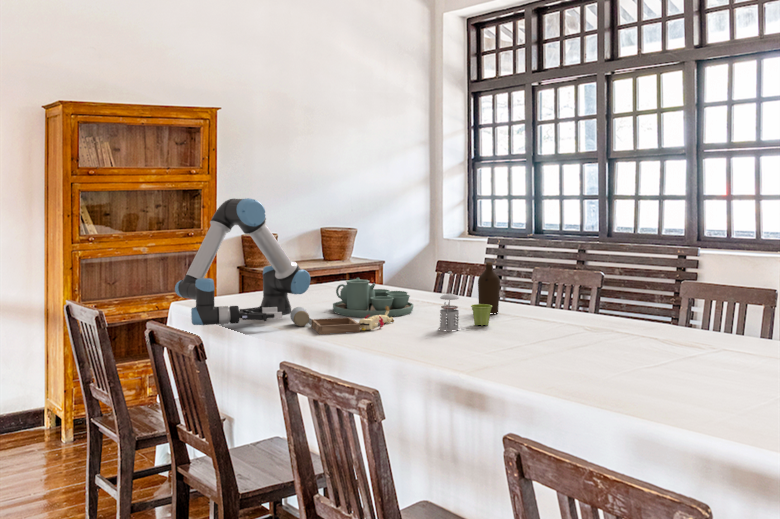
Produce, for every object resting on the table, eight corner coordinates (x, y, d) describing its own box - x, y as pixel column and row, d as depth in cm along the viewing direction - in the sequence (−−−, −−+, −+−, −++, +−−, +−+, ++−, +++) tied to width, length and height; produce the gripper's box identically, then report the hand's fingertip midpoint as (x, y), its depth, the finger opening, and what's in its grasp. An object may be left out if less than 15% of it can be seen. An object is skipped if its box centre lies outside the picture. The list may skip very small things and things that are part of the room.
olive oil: (502, 314, 330) (503, 262, 328) (481, 315, 328) (481, 263, 326) (495, 311, 340) (496, 260, 338) (474, 311, 339) (475, 261, 337)
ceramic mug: (293, 327, 295) (293, 309, 294) (290, 324, 303) (290, 306, 302) (317, 326, 299) (317, 309, 298) (313, 323, 306) (313, 306, 306)
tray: (311, 326, 297) (311, 319, 296) (349, 324, 302) (349, 317, 301) (319, 334, 280) (319, 326, 280) (359, 332, 286) (359, 324, 285)
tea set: (414, 318, 320) (415, 283, 318) (328, 318, 320) (328, 283, 318) (412, 305, 359) (412, 274, 358) (335, 304, 359) (335, 273, 358)
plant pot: (466, 325, 302) (466, 305, 302) (478, 322, 309) (479, 303, 309) (483, 327, 296) (484, 307, 295) (496, 325, 303) (496, 305, 302)
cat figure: (378, 324, 311) (351, 329, 289) (379, 305, 311) (352, 308, 289) (398, 326, 307) (372, 331, 284) (399, 306, 307) (373, 310, 284)
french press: (463, 328, 295) (463, 270, 293) (456, 333, 285) (457, 273, 282) (441, 326, 299) (441, 269, 296) (433, 331, 288) (434, 272, 286)
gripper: (227, 318, 303) (275, 316, 309) (231, 329, 279) (284, 326, 286) (226, 301, 302) (275, 299, 309) (231, 310, 279) (283, 308, 285)
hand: (279, 312), depth 297 cm, fingers open, 13 cm apart
